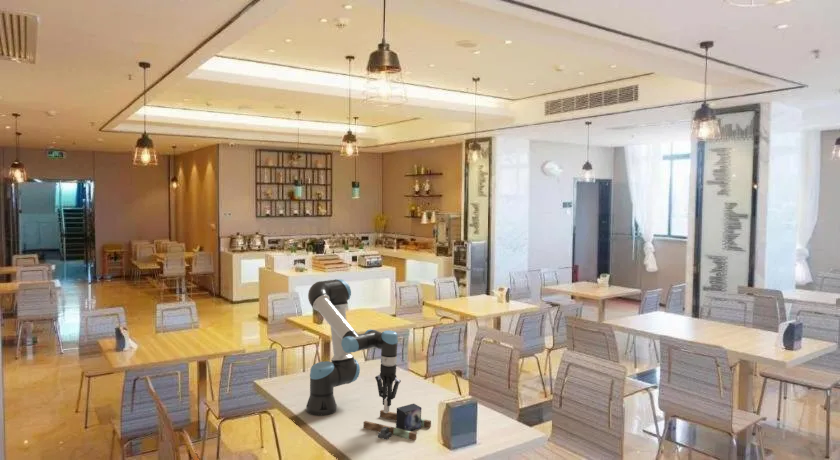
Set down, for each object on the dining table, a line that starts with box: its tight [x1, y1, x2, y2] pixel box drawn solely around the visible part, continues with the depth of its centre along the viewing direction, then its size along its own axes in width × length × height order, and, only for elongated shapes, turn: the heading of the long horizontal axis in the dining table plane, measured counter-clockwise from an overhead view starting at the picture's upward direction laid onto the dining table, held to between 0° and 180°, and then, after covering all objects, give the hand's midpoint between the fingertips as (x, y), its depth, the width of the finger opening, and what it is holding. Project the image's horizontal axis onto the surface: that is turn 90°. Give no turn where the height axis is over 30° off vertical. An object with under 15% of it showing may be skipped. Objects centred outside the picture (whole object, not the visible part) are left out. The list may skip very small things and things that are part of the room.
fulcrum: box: [377, 425, 393, 440], centre depth 262 cm, size 5×4×4 cm
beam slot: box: [362, 409, 432, 441], centre depth 273 cm, size 27×17×3 cm, turn 64°
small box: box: [395, 403, 422, 432], centre depth 271 cm, size 11×6×10 cm, turn 130°
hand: (386, 411), depth 277 cm, fingers closed
